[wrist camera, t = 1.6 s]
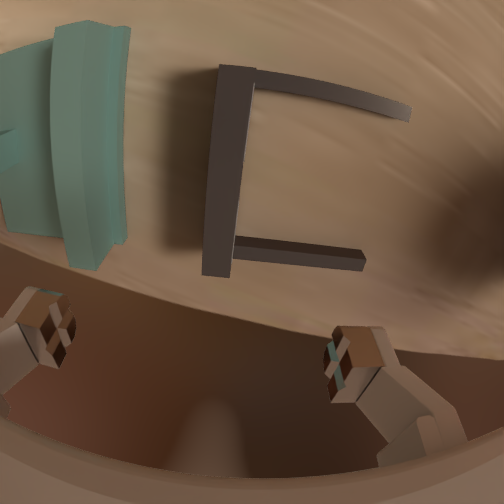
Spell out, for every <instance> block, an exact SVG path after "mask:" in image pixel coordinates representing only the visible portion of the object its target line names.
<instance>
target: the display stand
mask: <svg viewBox="0 0 504 504" xmlns="http://www.w3.org/2000/svg"><path fill="white" fill-rule="evenodd" d="M130 32H131V28H130V27H127V26H118V27H112V26H109V25H105V24H101V23H98V22H94V21H90V20H86V21H81V22H76V23H71V24H67V25H63V26H59V27H55V32H54V38H52V39H48V40H45V41H41V42H37V43H34V44H30V45H27V46H24V47H21V48H18V49H15V50H12V51H9V52H6V53H3V54H0V199H1V204H2V209H3V213H4V218H5V222H6V226H7V230H8V232H16V233H25V234H33V235H42V236H50V237H59V238H63V239H64V243H65V248H66V253H67V257H68V261H69V266H70V267H74V268H80V269H87V270H94V271H97V269H98V267H99V266H100V264H101V263H102V261H103V260H104V258H105V257H106V255H107V254H108V252H109V251H110V249H111V248H112V246H113V245H114V244H121V245H123V243H124V242H125V240H126V239H127V227H126V213H125V197H124V171H123V122H124V96H125V81H126V68H127V57H128V48H129V39H130Z"/></svg>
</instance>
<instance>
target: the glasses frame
mask: <svg viewBox="0 0 504 504" xmlns="http://www.w3.org/2000/svg"><path fill="white" fill-rule="evenodd" d="M254 87H255V88H262V89H270V90H276V91H283V92H289V93H295V94H300V95H306V96H311V97H316V98H320V99H325V100H330V101H334V102H338V103H343V104H347V105H351V106H355V107H358V108H362V109H366V110H370V111H373V112H377V113H380V114H383V115H387V116H390V117H393V118H396V119H399V120H402V121H405V122H408V123H409V119H410V115H411V110H412V107H410V106H408V105H405V104H402V103H399V102H396V101H393V100H390V99H387V98H384V97H381V96H377V95H374V94H371V93H367V92H364V91H360V90H357V89H353V88H349V87H345V86H341V85H337V84H333V83H329V82H324V81H320V80H315V79H310V78H305V77H300V76H295V75H289V74H283V73H277V72H270V71H263V70H256V68H253V67H244V66H234V65H222V64H219V70H218V78H217V86H216V94H215V103H214V112H213V122H212V132H211V142H210V153H209V164H208V176H207V189H206V203H205V218H204V235H203V254H202V275H205V276H214V277H224V278H230V270H231V264H232V259H241V260H251V261H261V262H271V263H280V264H290V265H300V266H310V267H321V268H331V269H341V270H351V271H363V268H364V265H365V263H366V258H365V256H364V254H363V252H362V250H356V249H348V248H340V247H331V246H323V245H314V244H306V243H297V242H288V241H279V240H270V239H261V238H252V237H243V236H235V231H236V223H237V215H238V206H239V197H240V185H241V177H242V169H243V162H244V159H245V151H246V143H247V136H248V128H249V121H250V114H251V107H252V99H253V92H254Z"/></svg>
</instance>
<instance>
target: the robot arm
mask: <svg viewBox="0 0 504 504" xmlns="http://www.w3.org/2000/svg"><path fill="white" fill-rule="evenodd" d="M69 307H70V301H69V298H68V296H66V295H64V294H60V293H56V292H52V291H48V290H44V289H39V288H35V287H31V286H29V287H27V288H25V289H24V291H23V292H22V294H21V295H20V296H19V297H18V299H17V300H16V301H15V302H14V304H13V305H12V307H11V308H10V309H9V311H8V312H7V313H6V315H5V316H4V318H0V504H504V427H502V428H500V429H497V430H495V431H493V432H491V433H488V434H486V435H484V436H481V437H479V438H476V439H474V440H471V441H469V442H468V441H467V438H466V436H465V433H464V430H463V428H462V425H461V423H460V420H459V417H458V415H457V412H456V410H455V408H454V407H453V406H452V405H451V404H449V403H448V402H447V401H446V400H445V399H443V398H442V397H441V396H440V395H439V394H437V393H436V392H435V391H434V390H433V389H431V388H430V387H429V386H428V385H427V384H426V383H424V382H423V381H422V380H421V379H420V378H418V377H417V376H416V375H415V374H413V373H412V372H411V371H410V370H409V369H408V368H406V367H405V366H400V364H399V361H398V359H397V356H396V354H395V352H394V349H393V347H392V345H391V342H390V340H389V338H388V335H387V333H386V331H385V329H384V328H383V327H382V326H367V327H366V326H337V327H336V328H335V329H334V331H333V333H332V338H333V341H332V342H330V343H329V344H328V345H327V346H326V349H325V351H324V357H323V368H324V373H325V374H326V375H327V376H328V377H329V378H330V381H329V382H328V384H327V388H328V392H329V398H330V402H331V403H349V402H356V405H357V406H358V407H359V408H360V409H361V410H362V412H363V413H364V414H365V415H366V416H367V418H368V419H369V420H370V421H371V422H372V424H373V425H374V426H375V427H376V428H377V429H378V431H379V432H380V433H381V434H382V435H383V437H384V438H385V439H386V440H387V441H388V443H389V445H387V446H386V447H385V448H384V449H382V450H381V451H380V452H379V453H378V454H377V460H378V464H379V468H374V469H368V470H362V471H356V472H349V473H342V474H334V475H325V476H314V477H301V478H276V479H275V478H274V479H253V478H250V479H249V478H229V477H215V476H203V475H193V474H186V473H179V472H172V471H166V470H160V469H155V468H150V467H144V466H140V465H135V464H131V463H127V462H122V461H118V460H114V459H111V458H107V457H104V456H100V455H97V454H93V453H90V452H87V451H84V450H80V449H78V448H74V447H72V446H69V445H66V444H63V443H61V442H58V441H55V440H52V439H50V438H48V437H45V436H43V435H40V434H38V433H36V432H33V431H31V430H29V429H27V428H24V427H22V426H20V425H18V424H16V423H14V422H12V421H10V420H8V419H7V417H8V414H9V411H10V409H11V408H10V405H9V403H8V402H7V401H6V400H5V399H4V397H3V396H2V395H3V394H4V393H5V392H7V391H8V390H9V389H10V388H11V387H12V386H14V385H15V384H16V383H17V382H18V381H20V380H21V379H22V378H23V377H24V376H25V375H27V374H28V373H29V372H30V371H31V370H33V369H34V368H35V367H36V366H37V365H38V363H39V364H43V365H46V366H50V367H54V368H57V369H59V368H60V366H61V364H62V362H63V360H64V357H65V356H66V349H65V347H66V346H68V345H69V344H70V343H72V341H73V339H74V337H75V332H76V320H75V317H74V315H73V313H72V312H70V310H69V309H68V308H69Z"/></svg>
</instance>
